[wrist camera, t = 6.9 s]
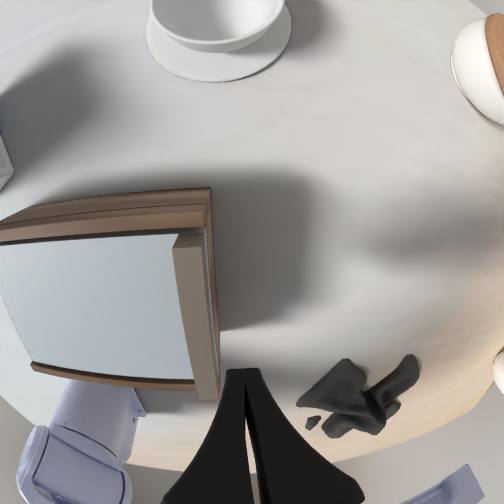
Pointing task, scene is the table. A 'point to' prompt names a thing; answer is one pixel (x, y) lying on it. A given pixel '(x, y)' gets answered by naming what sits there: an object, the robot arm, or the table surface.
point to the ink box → (4, 165)
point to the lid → (116, 303)
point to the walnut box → (121, 219)
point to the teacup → (217, 36)
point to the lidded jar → (481, 65)
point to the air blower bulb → (499, 371)
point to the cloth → (358, 397)
